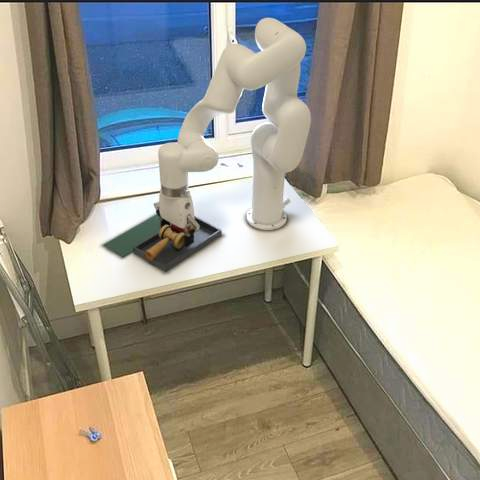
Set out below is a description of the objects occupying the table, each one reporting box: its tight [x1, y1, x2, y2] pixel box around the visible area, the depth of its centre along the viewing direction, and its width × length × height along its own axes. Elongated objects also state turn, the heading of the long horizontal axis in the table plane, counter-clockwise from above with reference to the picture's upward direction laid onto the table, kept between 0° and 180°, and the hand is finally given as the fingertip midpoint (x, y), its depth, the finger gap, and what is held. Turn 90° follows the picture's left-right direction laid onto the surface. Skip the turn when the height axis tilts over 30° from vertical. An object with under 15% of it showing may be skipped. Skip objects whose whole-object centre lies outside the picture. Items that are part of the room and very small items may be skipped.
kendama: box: [145, 223, 190, 260], centre depth 172 cm, size 8×6×18 cm
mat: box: [103, 213, 172, 258], centre depth 180 cm, size 23×8×1 cm, turn 142°
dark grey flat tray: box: [132, 215, 223, 273], centre depth 176 cm, size 23×13×2 cm, turn 142°
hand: (177, 237), depth 175 cm, fingers open, 9 cm apart
